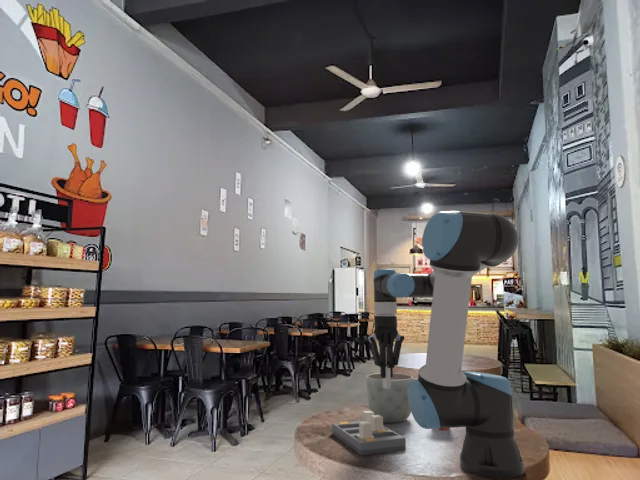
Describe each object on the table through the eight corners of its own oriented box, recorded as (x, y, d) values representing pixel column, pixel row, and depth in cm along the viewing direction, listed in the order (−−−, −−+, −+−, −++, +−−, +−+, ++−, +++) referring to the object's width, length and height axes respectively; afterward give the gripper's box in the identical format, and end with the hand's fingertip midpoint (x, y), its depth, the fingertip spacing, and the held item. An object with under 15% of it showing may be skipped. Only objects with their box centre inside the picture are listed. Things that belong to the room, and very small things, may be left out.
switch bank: (405, 449, 127) (405, 437, 128) (361, 455, 122) (360, 442, 123) (371, 429, 148) (371, 418, 148) (332, 433, 143) (332, 422, 143)
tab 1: (376, 430, 141) (376, 412, 142) (365, 432, 140) (364, 413, 141) (371, 428, 144) (371, 410, 145) (360, 429, 143) (360, 411, 144)
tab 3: (385, 436, 135) (385, 416, 136) (373, 437, 134) (373, 417, 135) (380, 433, 139) (380, 414, 139) (368, 434, 137) (368, 415, 138)
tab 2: (374, 444, 128) (374, 423, 128) (361, 445, 126) (361, 424, 127) (369, 440, 131) (369, 420, 132) (356, 442, 129) (356, 422, 130)
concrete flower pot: (412, 428, 150) (411, 381, 152) (362, 424, 154) (362, 378, 156) (416, 416, 166) (415, 373, 168) (371, 413, 170) (370, 372, 173)
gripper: (397, 314, 155) (398, 384, 152) (363, 315, 151) (363, 387, 148) (408, 315, 148) (410, 388, 145) (373, 315, 144) (374, 391, 141)
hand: (386, 387), depth 146 cm, fingers closed
